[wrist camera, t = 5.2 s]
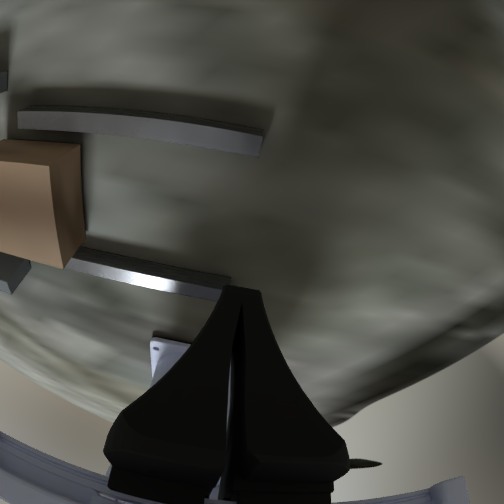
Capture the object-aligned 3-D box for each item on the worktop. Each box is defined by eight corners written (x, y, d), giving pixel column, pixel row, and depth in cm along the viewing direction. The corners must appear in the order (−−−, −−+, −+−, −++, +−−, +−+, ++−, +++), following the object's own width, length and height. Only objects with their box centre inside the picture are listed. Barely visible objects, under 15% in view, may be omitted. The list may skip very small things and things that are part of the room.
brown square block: (85, 238, 18) (63, 268, 15) (15, 223, 17) (-10, 248, 15) (80, 144, 14) (49, 166, 12) (3, 139, 14) (-29, 158, 11)
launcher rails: (228, 289, 20) (226, 303, 19) (45, 250, 19) (37, 260, 18) (263, 130, 14) (263, 136, 13) (30, 105, 13) (17, 111, 12)
